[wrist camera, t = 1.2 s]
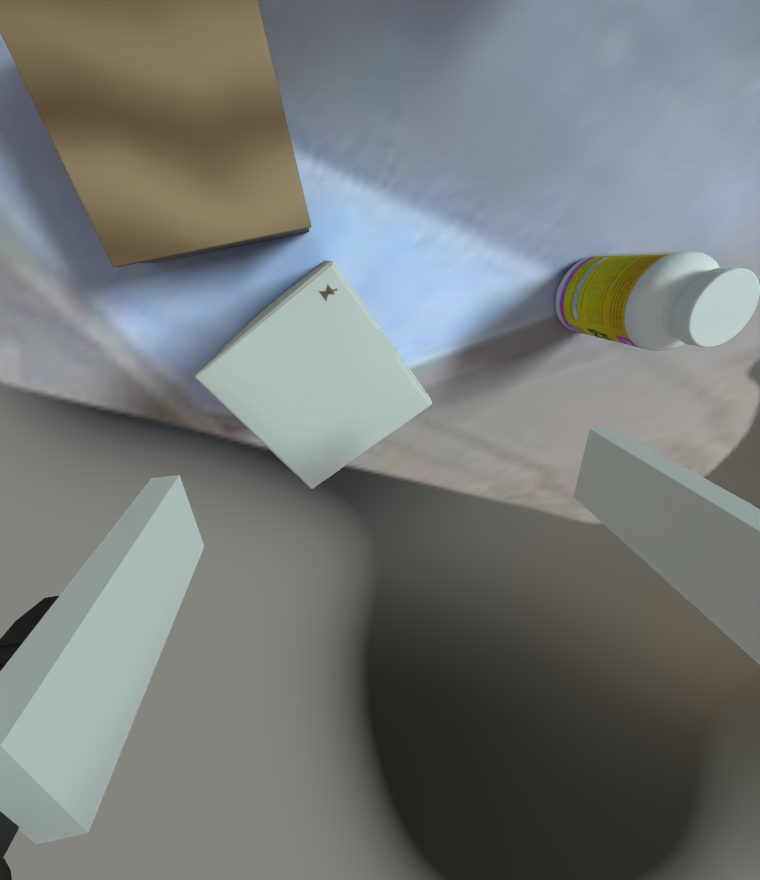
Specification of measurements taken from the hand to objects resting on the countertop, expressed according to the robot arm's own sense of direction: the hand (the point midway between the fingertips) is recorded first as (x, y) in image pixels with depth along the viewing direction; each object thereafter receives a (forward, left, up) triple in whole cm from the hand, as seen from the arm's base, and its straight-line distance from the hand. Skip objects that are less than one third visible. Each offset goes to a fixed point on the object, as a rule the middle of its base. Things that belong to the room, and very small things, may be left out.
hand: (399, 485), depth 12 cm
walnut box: (-14, -9, -23) cm, 28 cm away
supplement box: (-1, -2, -23) cm, 23 cm away
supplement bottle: (-4, +23, -23) cm, 33 cm away
